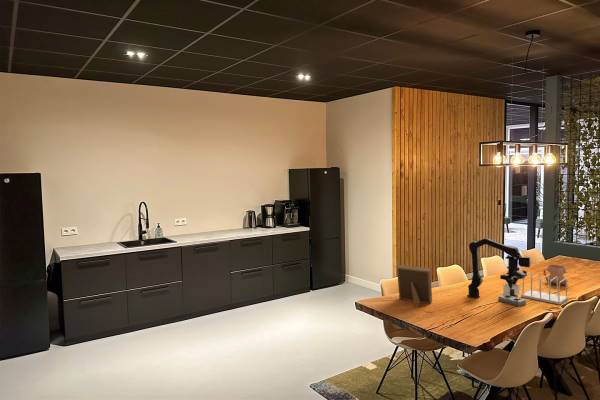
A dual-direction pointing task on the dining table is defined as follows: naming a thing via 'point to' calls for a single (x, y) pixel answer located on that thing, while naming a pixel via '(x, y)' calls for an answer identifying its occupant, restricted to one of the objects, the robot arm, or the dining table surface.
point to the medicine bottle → (509, 292)
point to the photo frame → (414, 284)
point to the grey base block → (512, 300)
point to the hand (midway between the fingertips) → (512, 288)
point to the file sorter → (545, 296)
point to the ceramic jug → (556, 274)
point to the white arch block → (512, 288)
